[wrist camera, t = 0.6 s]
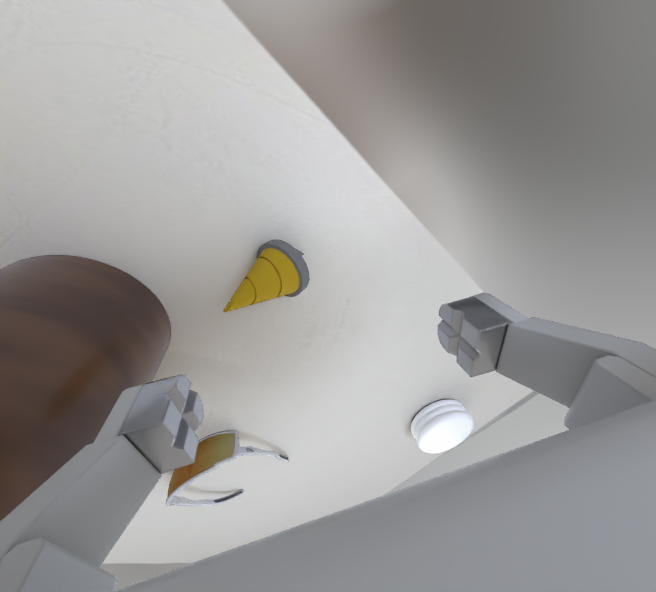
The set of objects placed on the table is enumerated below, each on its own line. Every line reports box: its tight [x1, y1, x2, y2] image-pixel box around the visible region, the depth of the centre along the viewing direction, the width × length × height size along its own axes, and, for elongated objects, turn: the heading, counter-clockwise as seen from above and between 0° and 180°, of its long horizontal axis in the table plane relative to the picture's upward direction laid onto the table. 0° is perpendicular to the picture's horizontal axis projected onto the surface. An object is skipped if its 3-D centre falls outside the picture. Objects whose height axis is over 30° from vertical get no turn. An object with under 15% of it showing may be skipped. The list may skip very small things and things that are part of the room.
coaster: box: [411, 399, 473, 453], centre depth 45 cm, size 10×10×4 cm
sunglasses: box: [166, 431, 289, 506], centre depth 38 cm, size 14×15×5 cm
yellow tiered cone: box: [223, 240, 310, 312], centre depth 23 cm, size 5×5×10 cm
